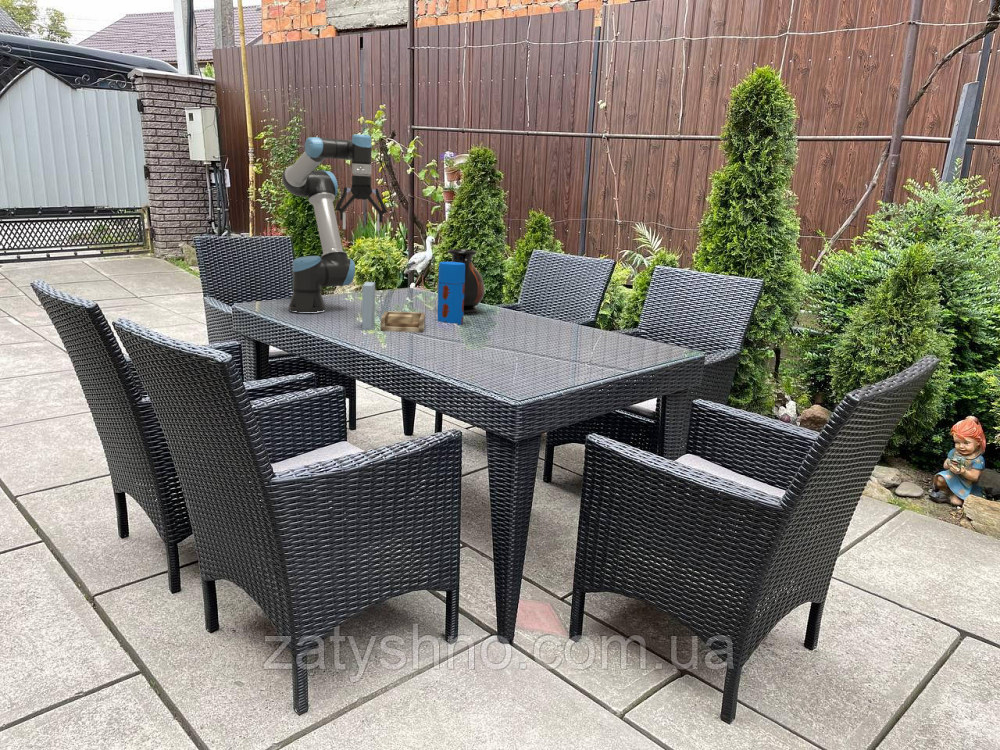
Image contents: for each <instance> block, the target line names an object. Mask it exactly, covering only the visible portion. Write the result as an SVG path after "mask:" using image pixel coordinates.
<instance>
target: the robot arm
mask: <svg viewBox="0 0 1000 750" xmlns="http://www.w3.org/2000/svg"><path fill="white" fill-rule="evenodd" d="M351 138H352V139H350V140H349V139H339V138H337V139H336V138H328V137H319V136H316V137H311V136H309V137H307V138H306V139H305V143H304V152H303V153H302V154H301V155H300V156H299V158H298V159H296V161H295V162H294V163H293V164H292V165H289V166H287V167H286V168H285V169H284V171H283V173H282V176H281V177H282V178H281V180H282V185H283V186H284V188H285V189H286V190H287V191H288V192H289V193H290V194H292V195H294V196H297V197H304V198H306V197H307V198H308V199H307V200H308V202H309V203H310V204H311V205H312V207H313V209H314V211H313V212H314V217H315V219H316V224H317V230H318V234H319V239H320V244H321V245H320V246H321V249H322V254H321V256H319V255H308V256H307V255H306V256H300V257H297V258H295V259H293V261H292V269H291V270H292V295H291V299H290V302H289V306H288V311H289V310H291V311H297V312H317V311H323V310H325V311H326V305H325V302H324V298H323V297H322V290H321V289H322V287H342V286H343V287H344V286H345V287H346V286H349V285H351V284H352V283H353V282H354V278H355V273H356V264H355V261H354V260H353V259H352V258H349V257H348V253H347V252H346V251H344V250H343V246H342V239H341V237H340V236H341V235H340V230H339V228H338V227H339V226H338V220H337V216H336V212H335V211H337V212H339V220H340V221H342V230H346V229H347V224H346V223H347V218H346V217H347V213H346V212H345V210H347V209H348V207H349V206H350V205H351V204H352V203H353V202H354V201H355V200H365V201H366V200H368V201H369V203H370V205H372V206H373V208H374V209H375V210H376V211H377V214H376V217H377V218H376V231H377V232H380V230H381V223H383V218H384V217H383V216H384V215H383V214H386V213H387V212H388V210H387V208H386V205H385V203H384V201H383V199H382V197H381V195H380V189H379V188H374V189H372V176H371V175H372V148H373V147H372V146H373V145H372V137H371V136H370V134H369V135H368V134H361V133H360V134H358V133H356V134H352V137H351ZM326 159H334V160H345V161H351V174H352V176H351V187H347V186H344V187H343V192H342V195H341V197H340V199H339V200H338V202H337V204H336V207H334V201H335V200H336V197H337V195H338V192H339V188H338V187H339V185H338V180H337V177H336V176H335V174H334V173H333V172H332V171H329V170H324V169H321V170H317V168H318V167H319V165H321V164H322V163H323V161H325V160H326ZM350 192H351V194H352V196H350V198H349V199H348V200H347V202H345V201H344V200H345V199H346V197H347V195H348V194H349V193H350ZM372 194H374V195H375V196H376V199H377V200H378V203H379V205H380V207H381V208H380V207H379V206H378V204H377V203H376V201H375V200H374V199H373V197H372V196H371V195H372ZM344 202H345V204H344V205H343V203H344ZM342 205H343V206H342Z"/></svg>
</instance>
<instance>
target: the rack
mask: <svg viewBox="0 0 1000 750" xmlns="http://www.w3.org/2000/svg"><path fill="white" fill-rule="evenodd" d="M389 314H406V315H413V320H412V322H419V328H415V327H391V326H387V321H388V315H389ZM425 326H426V312H416V311H415V312H412V311H407V312H406V311H391V310H390V311H388V310H385V311H384V313H382V315H381V317H380V331H382V332H404V333H424V329H425Z"/></svg>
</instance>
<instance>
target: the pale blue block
mask: <svg viewBox="0 0 1000 750" xmlns="http://www.w3.org/2000/svg"><path fill="white" fill-rule="evenodd" d="M361 286H362V291H361V292H362V293H361V295H362V296H361V297H362V298H361V300H362V302H361V307H362V308H361V309H362V310H361V312H362V313H361V316H362V317H361V320H362V321H361V325H362V326H361V328H362V330H372V329H373V328H374V326H375V323H376V318H375V317H376V282H375V281H374V282H373V281H372V282H371V281H365V282H364V284H362V285H361Z"/></svg>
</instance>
